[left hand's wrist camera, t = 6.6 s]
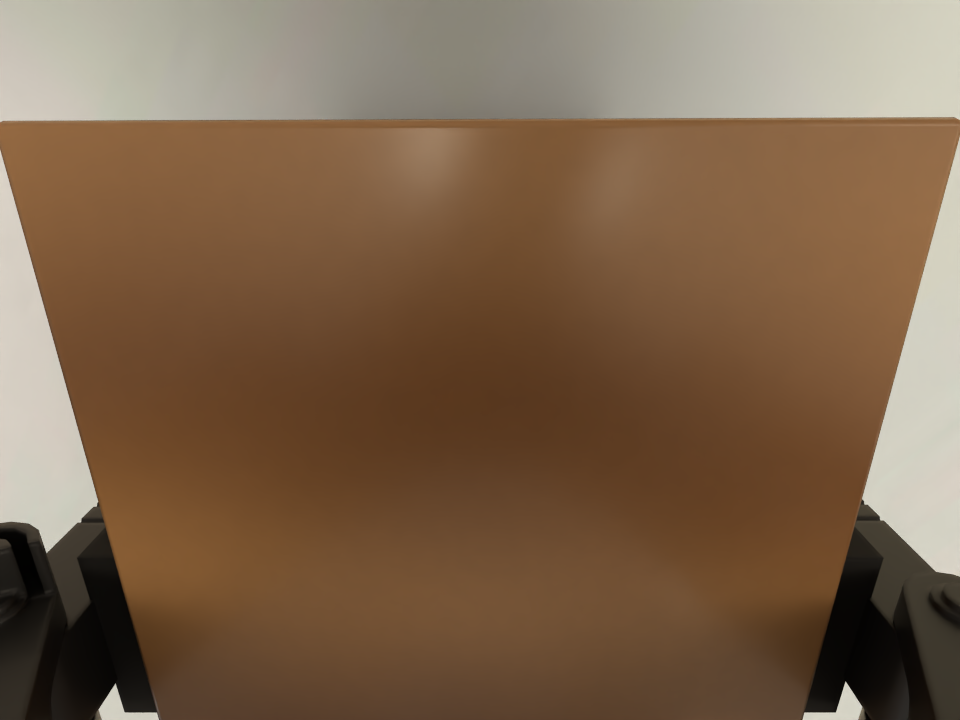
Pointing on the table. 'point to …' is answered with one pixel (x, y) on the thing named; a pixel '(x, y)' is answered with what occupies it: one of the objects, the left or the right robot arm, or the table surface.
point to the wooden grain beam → (480, 399)
